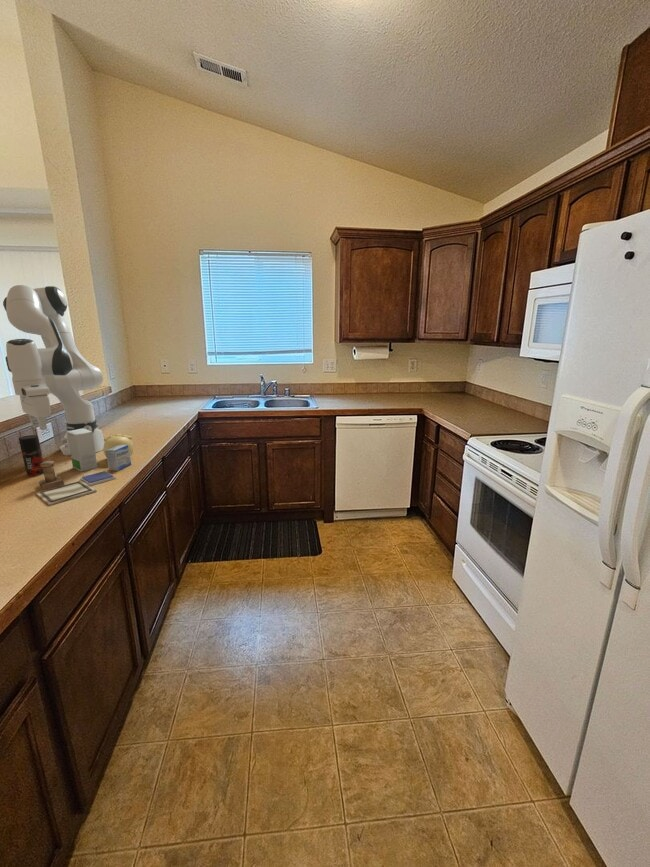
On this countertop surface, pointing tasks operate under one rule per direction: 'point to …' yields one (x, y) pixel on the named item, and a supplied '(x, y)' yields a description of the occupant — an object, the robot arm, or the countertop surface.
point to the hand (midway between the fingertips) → (39, 427)
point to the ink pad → (97, 478)
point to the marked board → (65, 492)
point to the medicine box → (118, 457)
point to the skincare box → (82, 449)
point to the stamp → (50, 476)
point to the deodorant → (31, 455)
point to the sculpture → (118, 442)
